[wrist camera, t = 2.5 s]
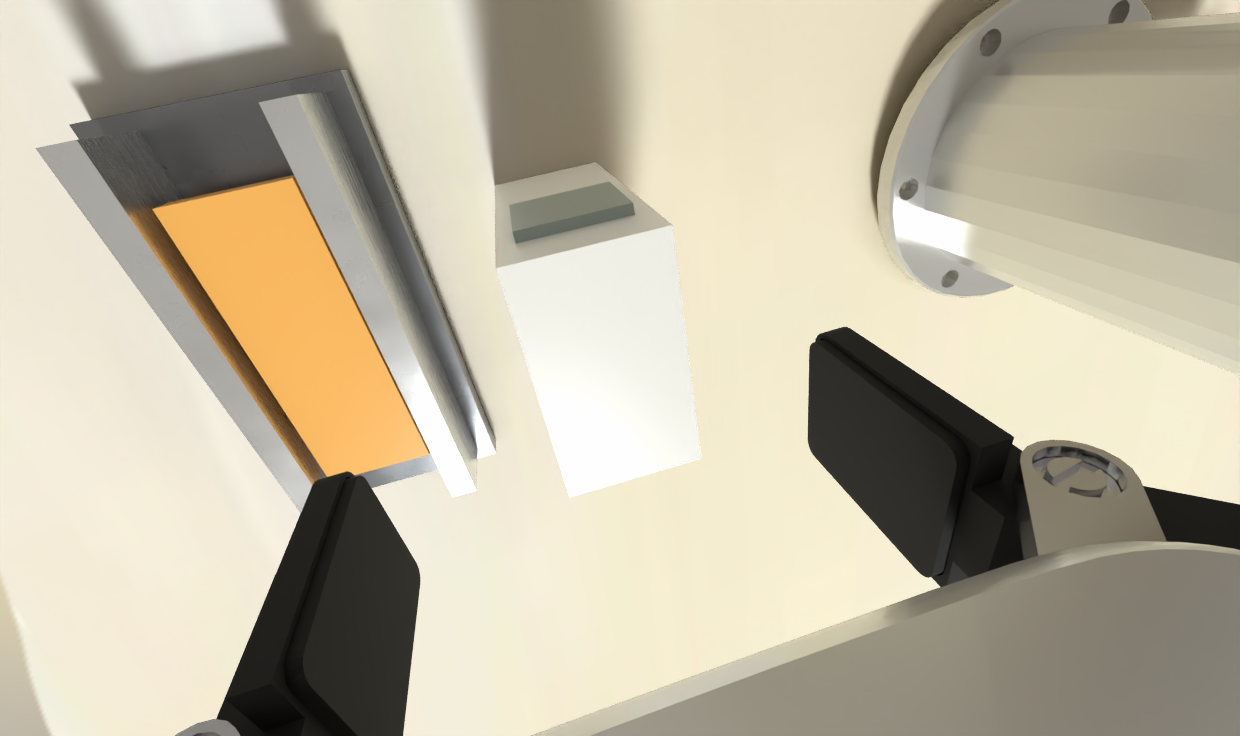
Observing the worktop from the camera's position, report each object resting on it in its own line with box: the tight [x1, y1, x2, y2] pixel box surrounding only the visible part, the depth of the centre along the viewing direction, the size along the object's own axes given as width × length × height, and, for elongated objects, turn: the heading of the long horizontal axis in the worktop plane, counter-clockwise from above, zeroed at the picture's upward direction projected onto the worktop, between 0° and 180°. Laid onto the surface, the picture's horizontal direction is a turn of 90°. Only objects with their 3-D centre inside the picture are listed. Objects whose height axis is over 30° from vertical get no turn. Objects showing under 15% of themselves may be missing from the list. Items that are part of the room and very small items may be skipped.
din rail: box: [36, 70, 496, 513], centre depth 19 cm, size 8×16×4 cm, turn 10°
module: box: [495, 162, 702, 497], centre depth 17 cm, size 4×7×10 cm, turn 10°
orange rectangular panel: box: [152, 175, 430, 477], centre depth 18 cm, size 4×11×1 cm, turn 10°
